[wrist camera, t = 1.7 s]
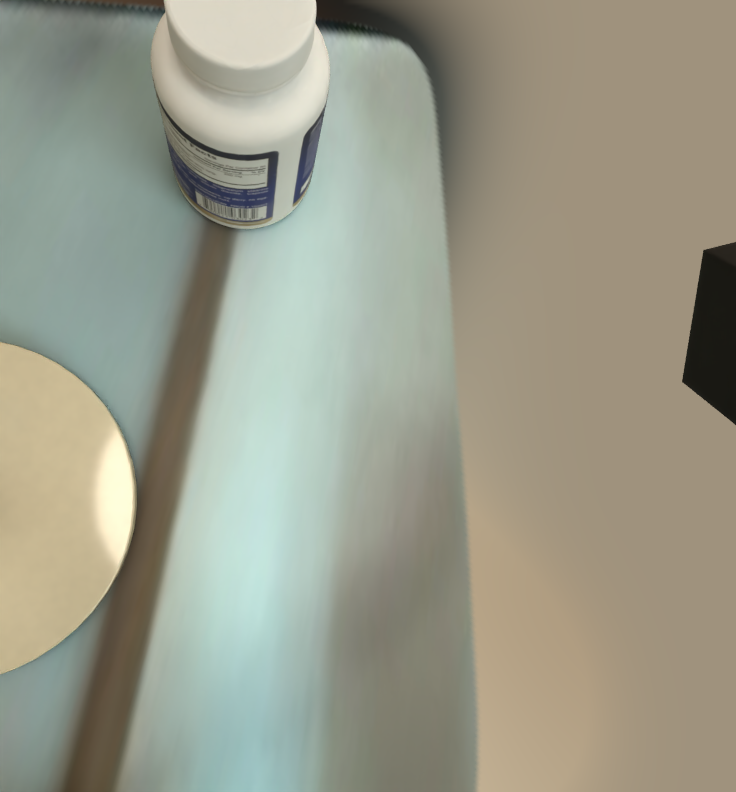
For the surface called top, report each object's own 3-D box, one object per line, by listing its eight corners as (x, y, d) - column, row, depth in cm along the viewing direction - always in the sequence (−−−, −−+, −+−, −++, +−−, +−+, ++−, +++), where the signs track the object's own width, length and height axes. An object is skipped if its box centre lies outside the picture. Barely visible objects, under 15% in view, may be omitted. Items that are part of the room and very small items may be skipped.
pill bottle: (257, 81, 29) (264, -128, 19) (337, 186, 29) (384, 29, 19) (144, 148, 27) (91, -39, 18) (227, 258, 27) (218, 129, 18)
